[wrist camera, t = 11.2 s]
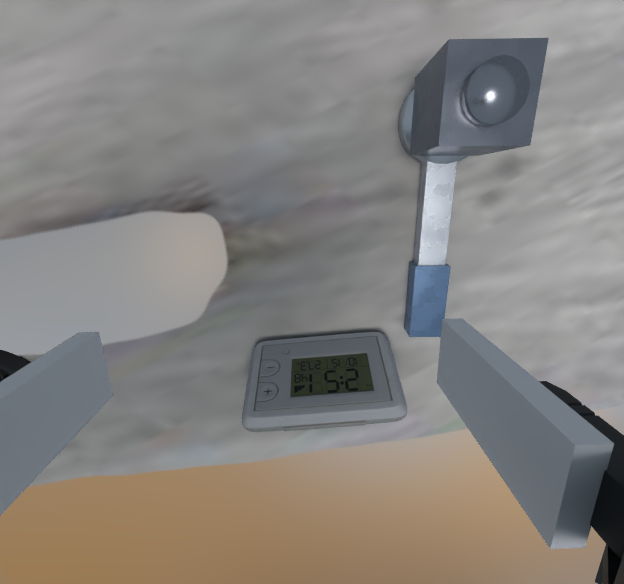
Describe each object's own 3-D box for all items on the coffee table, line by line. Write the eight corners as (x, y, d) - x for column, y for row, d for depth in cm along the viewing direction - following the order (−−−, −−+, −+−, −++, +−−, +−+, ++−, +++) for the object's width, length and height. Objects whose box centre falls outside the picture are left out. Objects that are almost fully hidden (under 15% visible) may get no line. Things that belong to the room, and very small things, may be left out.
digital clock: (392, 329, 40) (418, 377, 30) (380, 394, 43) (400, 459, 32) (256, 315, 40) (235, 360, 29) (252, 382, 42) (232, 444, 32)
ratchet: (385, 328, 40) (395, 349, 34) (401, 76, 32) (417, 54, 27) (453, 328, 40) (474, 349, 34) (485, 74, 32) (519, 52, 27)
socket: (409, 156, 32) (443, 144, 23) (415, 77, 30) (454, 32, 21) (478, 155, 32) (538, 143, 23) (489, 76, 30) (558, 31, 21)
